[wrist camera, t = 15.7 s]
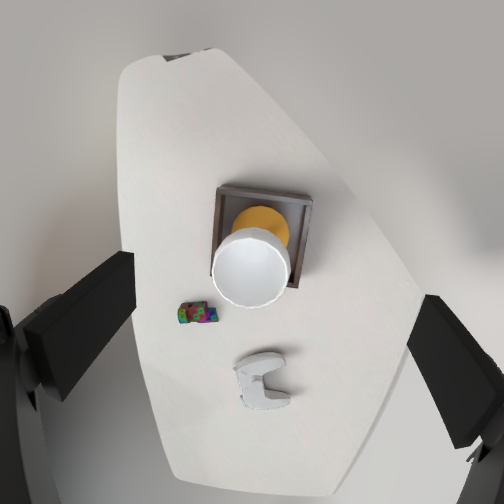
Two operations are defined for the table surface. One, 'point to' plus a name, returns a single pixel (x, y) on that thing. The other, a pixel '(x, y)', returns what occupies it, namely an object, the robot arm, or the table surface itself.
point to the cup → (253, 259)
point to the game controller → (260, 381)
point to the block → (197, 313)
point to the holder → (287, 204)
